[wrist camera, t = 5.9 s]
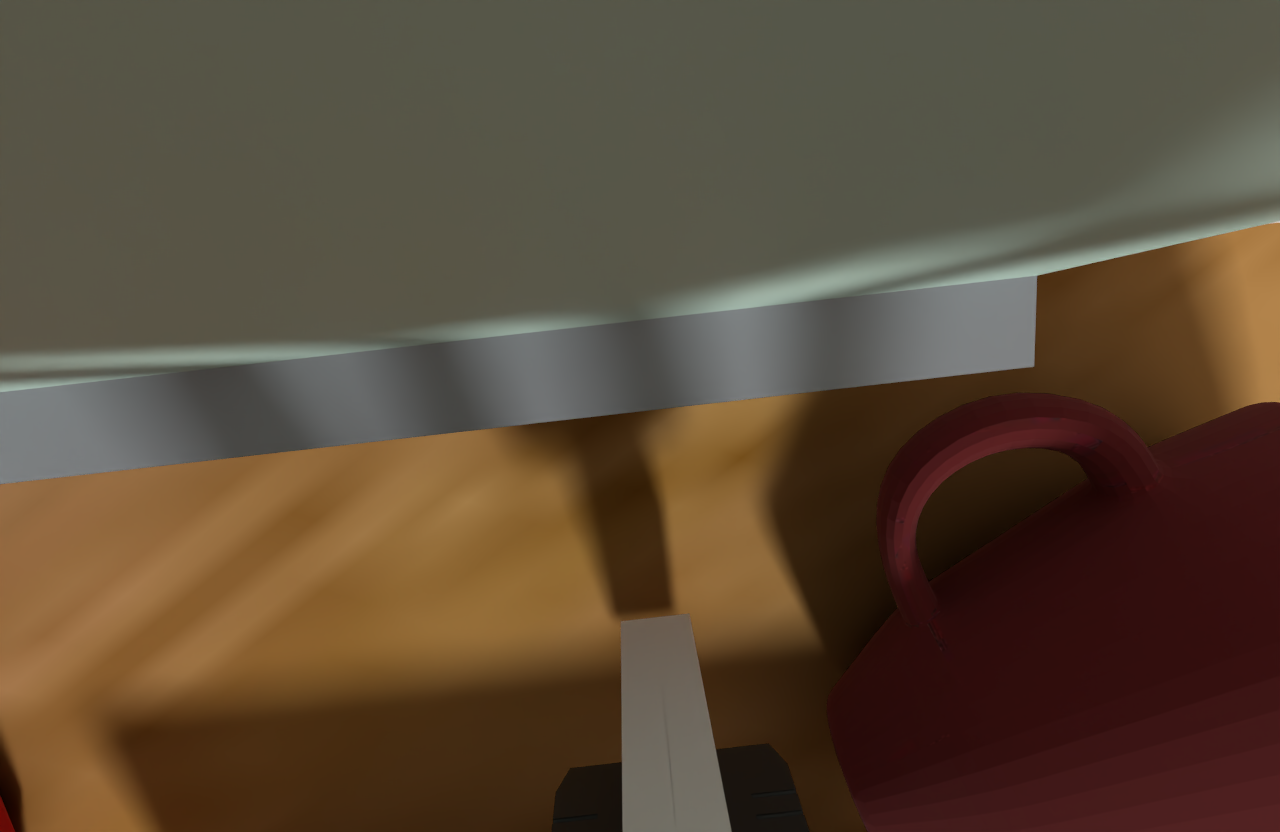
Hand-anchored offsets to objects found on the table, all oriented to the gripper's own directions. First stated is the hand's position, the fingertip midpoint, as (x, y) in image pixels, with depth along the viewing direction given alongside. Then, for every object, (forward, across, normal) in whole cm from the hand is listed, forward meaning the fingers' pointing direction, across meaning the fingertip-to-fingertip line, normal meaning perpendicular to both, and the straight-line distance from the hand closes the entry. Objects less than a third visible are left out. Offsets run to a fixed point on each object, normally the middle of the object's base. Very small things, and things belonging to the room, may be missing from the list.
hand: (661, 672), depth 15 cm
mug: (-1, +3, -2) cm, 4 cm away
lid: (-12, -3, +10) cm, 16 cm away
